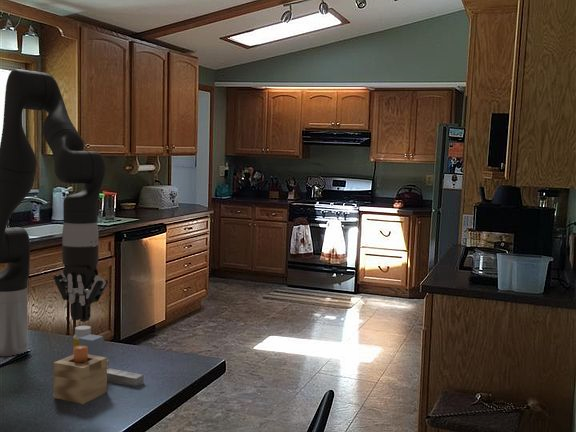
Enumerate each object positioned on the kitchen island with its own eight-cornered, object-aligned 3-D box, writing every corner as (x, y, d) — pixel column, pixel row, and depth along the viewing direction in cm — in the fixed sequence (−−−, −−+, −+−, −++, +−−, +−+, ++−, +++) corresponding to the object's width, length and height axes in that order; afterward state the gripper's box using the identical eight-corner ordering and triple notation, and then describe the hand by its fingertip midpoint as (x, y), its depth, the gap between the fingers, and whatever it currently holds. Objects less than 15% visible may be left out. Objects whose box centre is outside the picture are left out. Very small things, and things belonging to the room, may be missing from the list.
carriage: (73, 375, 157) (73, 338, 156) (88, 369, 162) (88, 332, 161) (93, 379, 154) (93, 342, 153) (108, 372, 160) (108, 336, 159)
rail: (73, 374, 158) (73, 366, 158) (82, 371, 161) (82, 363, 161) (136, 387, 151) (136, 378, 151) (143, 382, 154) (143, 374, 154)
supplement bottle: (80, 363, 167) (80, 331, 166) (69, 359, 170) (69, 327, 169) (96, 358, 171) (96, 327, 170) (85, 355, 173) (85, 324, 173)
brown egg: (70, 361, 144) (70, 348, 144) (79, 358, 147) (79, 345, 147) (81, 363, 143) (81, 350, 143) (90, 359, 146) (90, 346, 145)
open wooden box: (53, 397, 144) (53, 362, 143) (78, 386, 151) (78, 352, 150) (83, 404, 141) (83, 368, 140) (106, 391, 148) (106, 357, 147)
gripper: (43, 242, 141) (43, 320, 143) (94, 247, 136) (94, 328, 138) (67, 238, 148) (67, 313, 150) (117, 243, 143) (116, 320, 145)
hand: (80, 320), depth 144 cm, fingers closed
